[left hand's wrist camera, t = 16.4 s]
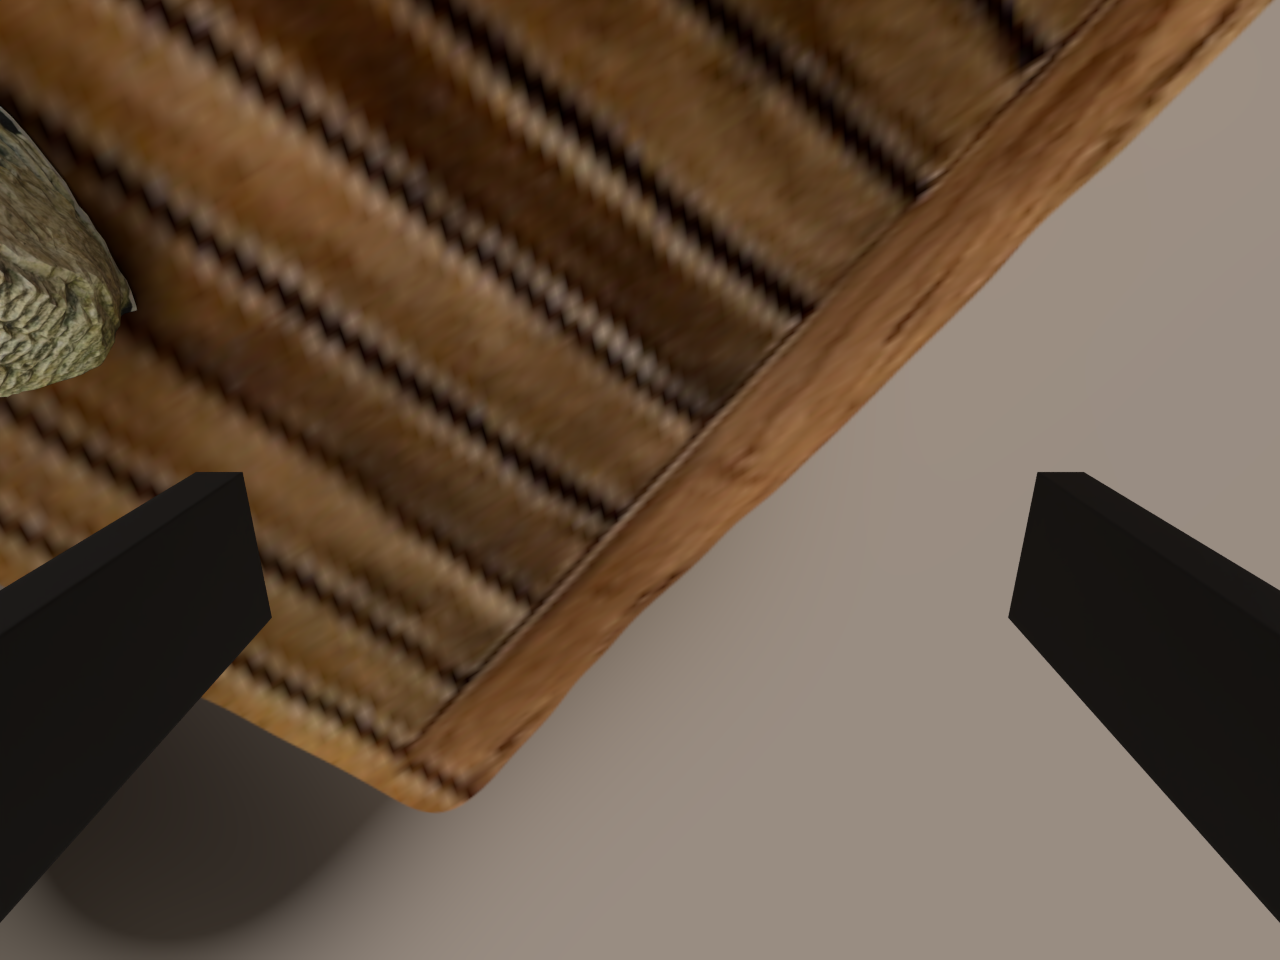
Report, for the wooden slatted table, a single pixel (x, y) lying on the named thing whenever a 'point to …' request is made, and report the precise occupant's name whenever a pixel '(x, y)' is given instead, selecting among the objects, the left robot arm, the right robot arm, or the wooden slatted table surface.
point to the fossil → (50, 274)
